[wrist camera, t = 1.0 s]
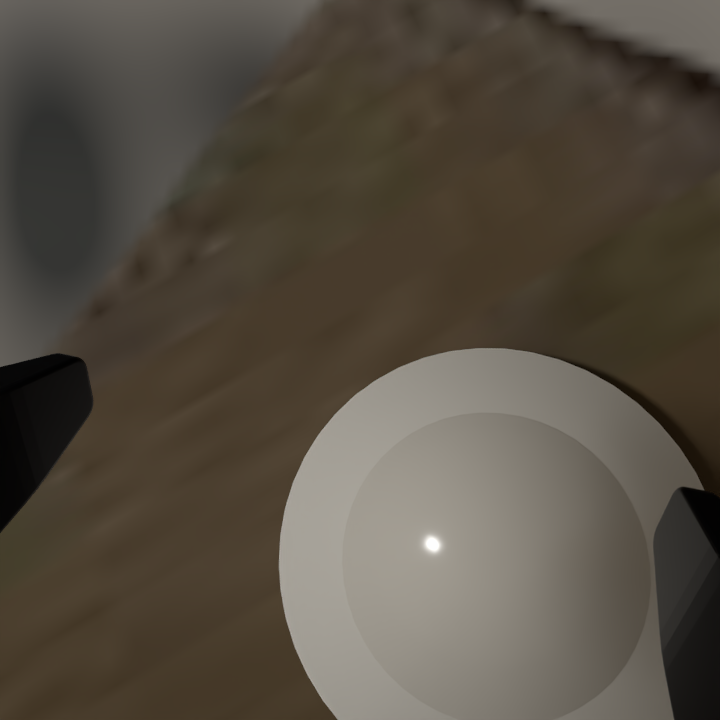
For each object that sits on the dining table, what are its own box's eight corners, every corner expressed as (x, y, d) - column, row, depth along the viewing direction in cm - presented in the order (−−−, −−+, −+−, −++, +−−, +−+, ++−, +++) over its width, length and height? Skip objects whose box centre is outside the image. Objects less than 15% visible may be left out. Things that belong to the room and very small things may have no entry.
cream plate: (811, 557, 20) (833, 564, 19) (507, 890, 20) (511, 917, 19) (470, 274, 23) (472, 266, 22) (209, 556, 23) (197, 562, 22)
